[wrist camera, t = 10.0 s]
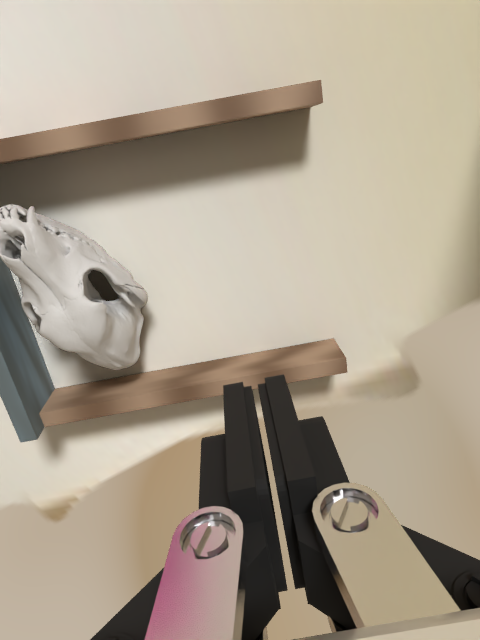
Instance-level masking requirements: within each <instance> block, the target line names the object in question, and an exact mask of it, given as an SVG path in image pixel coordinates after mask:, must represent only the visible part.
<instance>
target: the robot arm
mask: <svg viewBox="0 0 480 640" xmlns="http://www.w3.org/2000/svg"><path fill="white" fill-rule="evenodd" d="M264 379H265V383H263V384H258V389H259V394H260V400H261V405H262V411H263V416H264V422H265V427H266V433H267V438H268V443H269V449H270V455H271V460H272V465H273V471H274V476H275V482H276V487H277V493H278V498H279V503H280V509H281V514H282V519H283V525H284V530H285V535H286V541H287V547H288V552H289V557H290V563H291V568H292V574H293V579H294V585H295V589H298V588H304V587H305V591H306V596H307V601H308V604H311V605H312V606H314V607H315V608H317V609H318V610H320V611H321V612H323V613H324V614H326V615H327V616H328V620H329V624H330V628H331V631H332V633H329V634H323V635H317V636H311V637H306V638H300V639H294V640H480V560H478V559H476V558H473V557H471V556H469V555H467V554H465V553H462V552H460V551H458V550H456V549H453V548H451V547H449V546H447V545H444V544H442V543H440V542H438V541H436V540H433V539H431V538H429V537H427V536H424V535H422V534H420V533H418V532H416V531H413V530H411V529H409V528H407V527H405V526H402V525H400V523H399V522H398V520H397V519H396V517H395V516H394V515H393V513H392V512H391V511H390V509H389V508H388V506H387V505H386V504H385V502H384V500H383V499H382V498H381V497H380V496H379V495H378V494H377V493H376V492H375V491H374V490H372V489H370V488H368V487H366V486H364V485H360V484H356V483H350V482H349V480H348V477H347V475H346V472H345V470H344V467H343V465H342V462H341V460H340V458H339V455H338V453H337V450H336V448H335V445H334V443H333V440H332V438H331V435H330V433H329V430H328V428H327V425H326V423H325V420H324V418H323V417H316V418H310V419H304V420H299V421H298V418H297V415H296V412H295V408H294V405H293V402H292V399H291V395H290V392H289V389H288V386H287V382H286V379H285V376H284V374H283V375H277V376H272V377H266V378H264ZM223 395H224V419H225V434H221V435H216V436H210V437H205V438H202V441H201V464H200V490H199V510H197V511H195V512H193V513H191V514H190V515H188V516H187V517H186V518H184V519H183V520H182V522H181V523H180V524H179V525H178V526H177V528H176V530H175V532H174V535H173V537H172V541H171V545H170V549H169V552H168V556H167V559H166V563H165V567H164V568H163V569H162V570H161V571H160V572H159V573H158V574H157V575H156V576H155V577H154V578H153V579H152V580H151V581H150V582H149V583H148V584H147V585H146V586H145V587H144V588H143V589H142V590H141V591H140V592H139V593H138V594H137V595H136V596H135V597H133V598H132V599H131V600H130V602H128V603H127V604H126V605H125V606H124V607H123V608H122V609H121V610H120V611H119V612H118V613H117V614H116V615H115V616H114V617H113V618H112V619H111V620H110V621H109V622H108V623H107V624H106V625H105V626H104V627H103V628H102V629H101V630H100V631H99V632H98V633H97V634H96V635H95V636H94V637H93V638H92V639H91V640H268V636H267V628H266V626H267V624H268V623H269V621H270V620H271V619H272V617H273V616H274V615H275V613H276V612H277V611H278V609H281V608H280V601H279V595H278V592H281V591H287V585H286V579H285V572H284V567H283V560H282V554H281V549H280V542H279V537H278V530H277V525H276V519H275V512H274V506H273V501H272V495H271V488H270V482H269V476H268V471H267V465H266V460H265V455H264V449H263V444H262V439H261V434H260V428H259V423H258V418H257V412H256V407H255V402H254V397H253V391H252V386H246V387H244V385H243V382H239V383H233V384H228V385H223Z"/></svg>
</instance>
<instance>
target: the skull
mask: <svg viewBox="0 0 480 640" xmlns="http://www.w3.org/2000/svg"><path fill="white" fill-rule="evenodd" d="M0 258H1V259H2V261H3V262H4V263H5V264H6V265H7V267H8V268H9V269H10V270H11V271H12V272H13V273H14V274H15V275H16V276H18V277H19V282H20V284H21V288H22V294H23V296H22V299H21V304H22V307H23V310H24V312H25V313H26V315H27V317H28V318H29V319H30V320H31V322H32V324H33V325H35V328H36V330H37V332H38V333H39V334H40V335H41V336H43V337H45V338H46V339H48V340H49V341H51V342H52V343H53V344H54V345H55V346H57V347H59V348H60V349H62V350H65V351H68V352H76V353H77V354H78V355H79V356H81V357H82V358H83V359H85V360H87V361H89V362H91V363H93V364H96V365H99V366H102V367H105V368H109V369H113V370H119V369H123V368H128V367H130V366H132V365H134V364H135V363H136V362H137V361H138V359H139V356H140V345H139V343H140V334H141V329H142V325H143V322H144V318H143V315H142V314H141V308H142V307H144V306H145V305H146V303H147V301H148V296H147V293H146V291H145V290H144V288H143V287H142V286H140V285H139V284H138V283H136V282H135V281H134V280H133V276H132V275H131V273H130V272H129V271H128V270H127V269H126V268H124V267H123V266H122V265H121V264H120V263H119V262H117V261H116V260H115V259H113V258H112V257H111V256H110V255H108V254H107V252H106V251H105V250H104V249H103V248H102V247H101V246H100V245H99V244H98V243H97V242H95V241H94V240H92V239H90V238H88V237H87V236H85V235H84V234H83V233H82V232H80V231H78V230H76V229H74V228H71V227H69V226H67V225H65V224H62V223H60V222H58V221H56V220H53V219H51V218H48V217H46V216H43V215H40V214H37V213H35V209H34V207H33V206H30V207H29V209H28V210H27V209H25V208H23V207H21V206H19V205H13V204H9V205H6V206H2V207H0ZM91 270H97V271H100V272H102V273H103V275H104V276H105V277H106V279H107V280H108V282H109V283H110V285H111V287H112V288H113V289H114V291H115V292H116V293H117V294H118V299H117V300H114V301H105V300H104V299H102V298H101V296H100V293H99V292H98V291H97V290H95V288H94V287H93V285H92V284H91V282H90V280H89V279H88V273H89V274H90V272H91Z"/></svg>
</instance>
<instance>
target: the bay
mask: <svg viewBox="0 0 480 640" xmlns="http://www.w3.org/2000/svg"><path fill="white" fill-rule="evenodd" d="M321 103H323V97H322V86H321V80H317V81H312V82H307V83H301V84H296V85H290V86H285V87H280V88H274V89H269V90H263V91H258V92H253V93H247V94H242V95H236V96H231V97H226V98H220V99H215V100H209V101H204V102H199V103H193V104H188V105H182V106H177V107H172V108H166V109H161V110H155V111H150V112H145V113H139V114H134V115H128V116H123V117H118V118H112V119H107V120H101V121H96V122H91V123H85V124H80V125H74V126H69V127H64V128H58V129H53V130H47V131H42V132H36V133H31V134H26V135H20V136H15V137H9V138H4V139H0V164H6V163H11V162H16V161H22V160H27V159H33V158H38V157H43V156H49V155H54V154H60V153H65V152H71V151H76V150H81V149H87V148H92V147H98V146H103V145H108V144H114V143H119V142H125V141H130V140H136V139H141V138H146V137H152V136H157V135H163V134H168V133H173V132H179V131H184V130H190V129H195V128H201V127H206V126H211V125H217V124H222V123H228V122H233V121H238V120H244V119H249V118H255V117H260V116H266V115H271V114H276V113H282V112H287V111H293V110H298V109H303V108H309V107H312V106H315V105H318V104H321ZM346 372H347V363H346V357H345V356H344V354H343V352H342V351H341V349H340V348H339V346H338V344H337V343H336V341H335V340H334V339H328V340H323V341H317V342H312V343H306V344H301V345H295V346H290V347H284V348H279V349H273V350H267V351H262V352H256V353H251V354H245V355H240V356H234V357H229V358H223V359H218V360H212V361H207V362H201V363H196V364H190V365H185V366H179V367H173V368H168V369H162V370H157V371H151V372H146V373H140V374H135V375H129V376H124V377H118V378H113V379H107V380H102V381H96V382H91V383H85V384H79V385H74V386H68V387H63V388H57V389H55V388H54V386H53V383H52V380H51V378H50V375H49V373H48V370H47V367H46V365H45V362H44V359H43V357H42V354H41V351H40V349H39V346H38V343H37V341H36V338H35V336H34V333H33V330H32V328H31V325H30V322H29V320H28V317H27V315H26V313H25V312H24V310H23V307H22V304H21V298H20V296H19V293H18V291H17V288H16V285H15V283H14V280H13V277H12V275H11V272H10V269H9V268H8V267H7V265H6V264H5V263H4V262H3V261H2V259H1V258H0V396H1V398H2V400H3V403H4V405H5V407H6V410H7V412H8V414H9V417H10V419H11V421H12V423H13V426H14V428H15V430H16V433H17V435H18V437H19V440H20V442H25V441H31V440H37V439H38V437H39V436H40V434H41V432H42V430H43V429H44V427H47V426H52V425H58V424H64V423H69V422H75V421H80V420H86V419H91V418H97V417H102V416H108V415H113V414H119V413H125V412H130V411H136V410H141V409H147V408H152V407H158V406H163V405H169V404H174V403H180V402H186V401H191V400H197V399H202V398H208V397H213V396H219V395H223V385H228V384H233V383H239V382H243V385H244V387H246V386H252V389H258V384H263V383H265V379H264V378H266V377H272V376H277V375H283V374H284V376H285V379H286V382H287V383H291V382H296V381H302V380H308V379H313V378H319V377H324V376H330V375H335V374H341V373H346Z"/></svg>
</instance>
